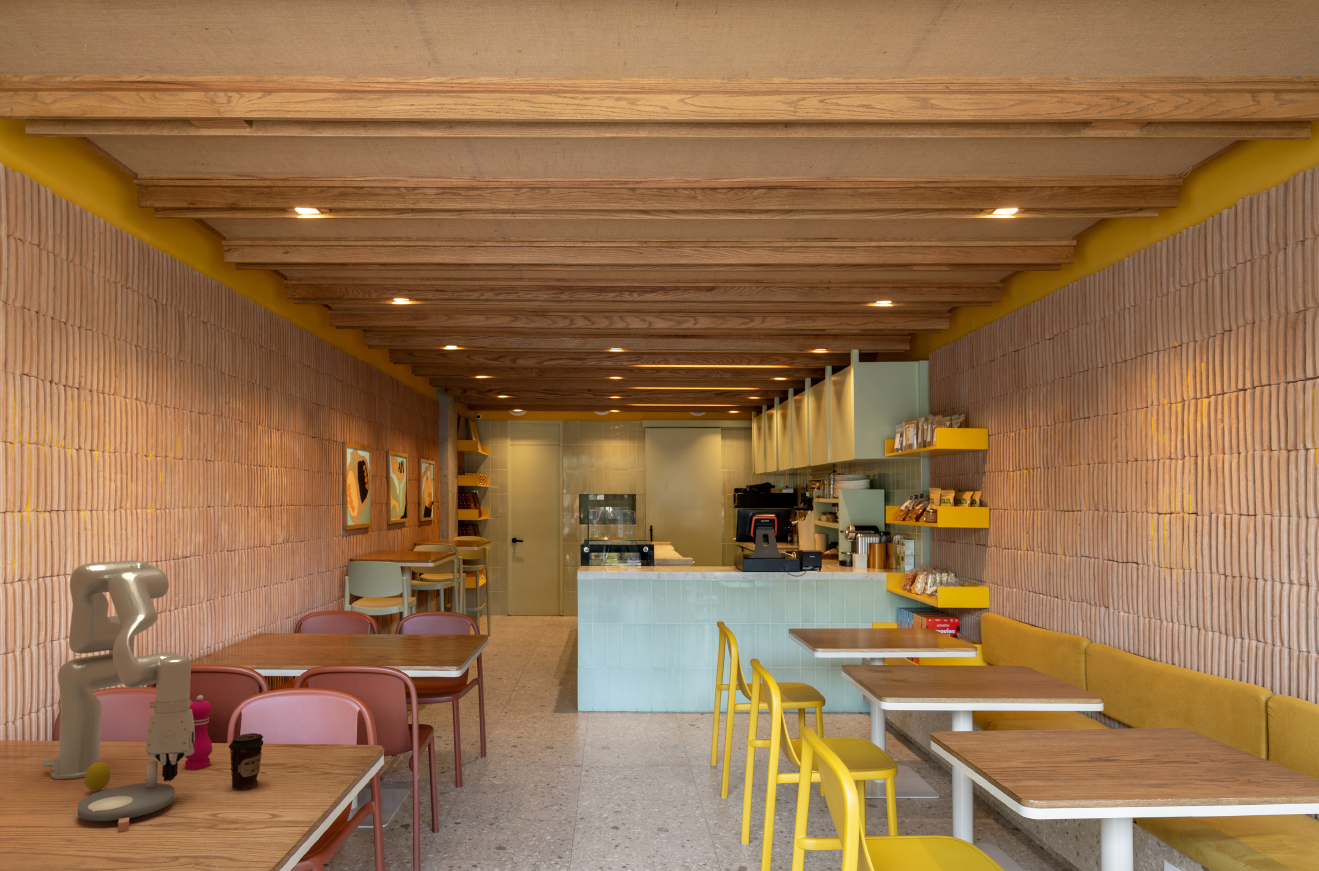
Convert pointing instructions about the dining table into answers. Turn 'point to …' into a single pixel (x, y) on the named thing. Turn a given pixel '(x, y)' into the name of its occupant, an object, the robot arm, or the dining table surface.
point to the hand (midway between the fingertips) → (169, 779)
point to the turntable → (128, 799)
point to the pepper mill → (200, 735)
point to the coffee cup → (245, 760)
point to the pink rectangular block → (123, 824)
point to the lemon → (97, 776)
